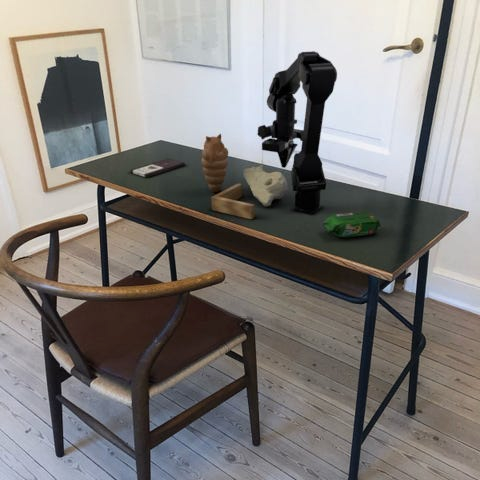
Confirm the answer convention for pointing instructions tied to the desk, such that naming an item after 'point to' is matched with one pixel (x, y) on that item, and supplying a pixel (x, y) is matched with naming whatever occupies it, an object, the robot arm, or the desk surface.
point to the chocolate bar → (157, 167)
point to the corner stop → (232, 203)
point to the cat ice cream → (214, 162)
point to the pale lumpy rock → (265, 184)
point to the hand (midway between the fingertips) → (283, 167)
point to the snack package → (352, 224)
